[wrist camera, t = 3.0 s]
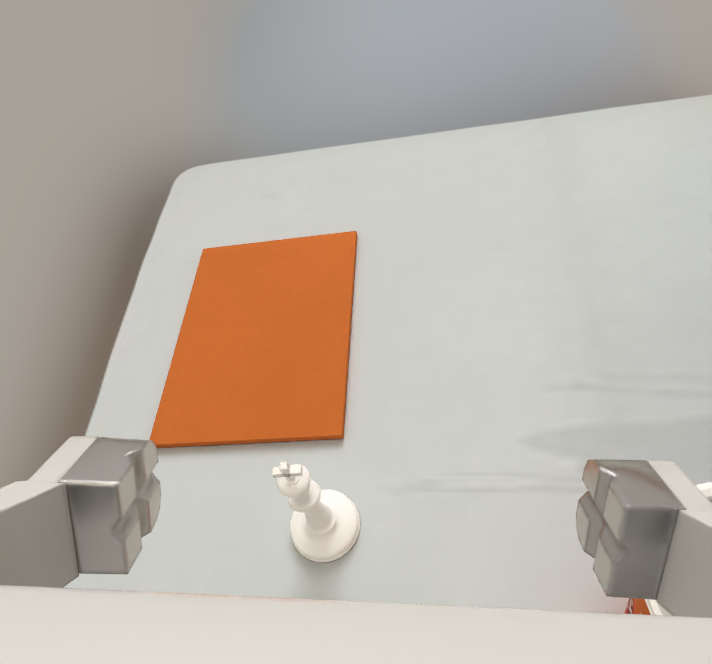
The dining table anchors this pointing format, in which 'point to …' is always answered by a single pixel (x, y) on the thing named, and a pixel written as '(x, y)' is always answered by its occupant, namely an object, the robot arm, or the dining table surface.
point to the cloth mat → (263, 345)
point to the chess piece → (317, 515)
